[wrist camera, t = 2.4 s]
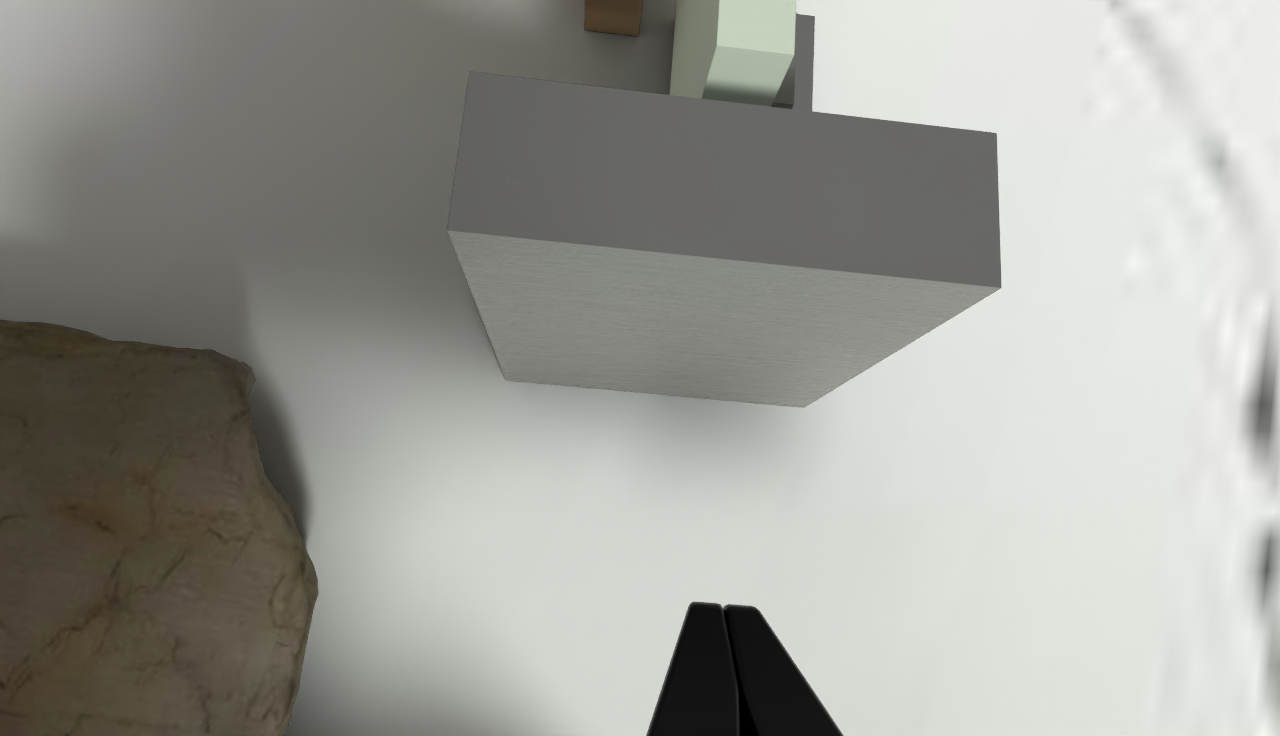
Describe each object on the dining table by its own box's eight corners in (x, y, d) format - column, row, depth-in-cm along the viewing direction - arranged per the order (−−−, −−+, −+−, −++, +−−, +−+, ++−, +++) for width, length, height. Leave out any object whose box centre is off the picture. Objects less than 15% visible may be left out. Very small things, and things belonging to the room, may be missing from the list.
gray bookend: (804, 407, 21) (1001, 288, 11) (505, 380, 21) (446, 229, 11) (814, 34, 24) (982, -319, 14) (550, 1, 23) (535, -390, 14)
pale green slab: (734, 258, 20) (846, 60, 12) (657, 250, 20) (717, 45, 12) (748, -9, 22) (852, -337, 14) (677, -18, 22) (740, -354, 14)
